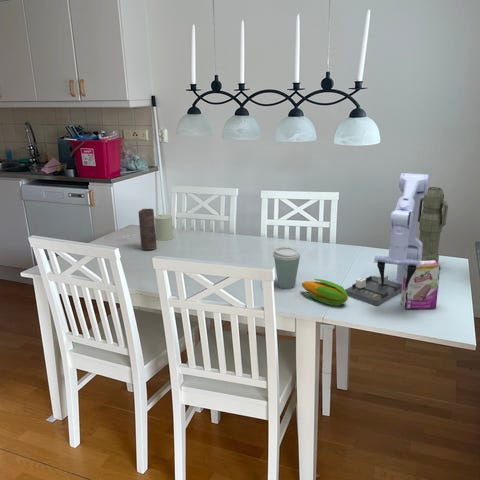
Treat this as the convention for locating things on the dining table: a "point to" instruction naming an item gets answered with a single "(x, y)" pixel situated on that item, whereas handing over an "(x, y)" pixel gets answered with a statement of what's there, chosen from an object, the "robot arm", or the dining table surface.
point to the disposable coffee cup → (286, 266)
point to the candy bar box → (421, 286)
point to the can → (163, 227)
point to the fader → (384, 279)
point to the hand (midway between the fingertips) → (394, 285)
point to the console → (375, 291)
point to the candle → (147, 229)
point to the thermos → (431, 222)
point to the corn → (326, 292)
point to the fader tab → (360, 282)
